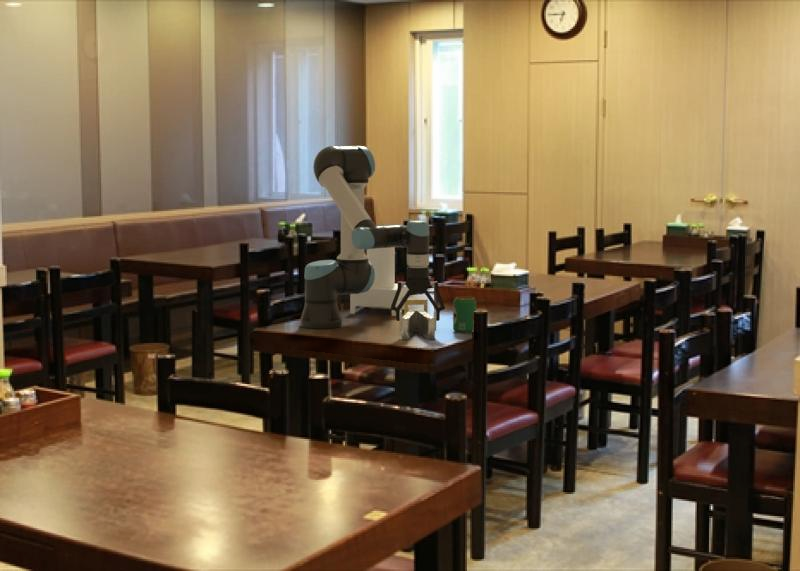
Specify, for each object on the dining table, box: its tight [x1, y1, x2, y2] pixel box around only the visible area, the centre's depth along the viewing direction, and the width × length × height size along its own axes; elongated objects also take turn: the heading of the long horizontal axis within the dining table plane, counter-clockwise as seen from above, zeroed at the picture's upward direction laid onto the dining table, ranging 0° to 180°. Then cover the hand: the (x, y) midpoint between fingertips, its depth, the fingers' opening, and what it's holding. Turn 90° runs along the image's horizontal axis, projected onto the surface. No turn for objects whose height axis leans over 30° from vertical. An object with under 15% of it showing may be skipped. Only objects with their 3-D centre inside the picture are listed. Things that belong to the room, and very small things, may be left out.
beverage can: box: [452, 296, 477, 334], centre depth 402 cm, size 8×8×12 cm
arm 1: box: [401, 310, 416, 340], centre depth 394 cm, size 18×2×7 cm, turn 172°
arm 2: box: [416, 310, 436, 340], centre depth 394 cm, size 18×2×7 cm, turn 12°
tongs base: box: [408, 309, 424, 331], centre depth 407 cm, size 3×5×7 cm, turn 92°
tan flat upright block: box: [403, 298, 429, 316], centre depth 407 cm, size 2×8×11 cm, turn 92°
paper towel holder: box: [349, 247, 412, 317], centre depth 448 cm, size 19×19×30 cm
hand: (417, 330), depth 390 cm, fingers open, 11 cm apart
